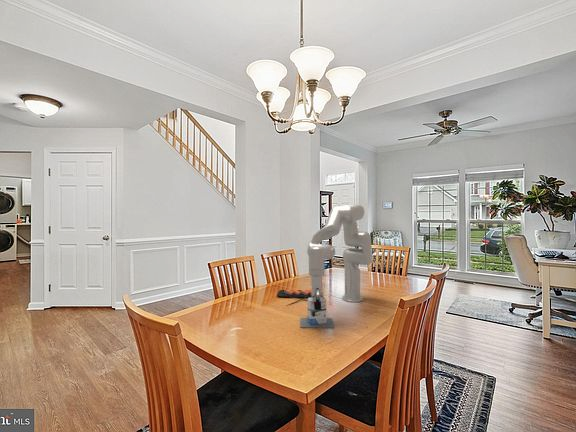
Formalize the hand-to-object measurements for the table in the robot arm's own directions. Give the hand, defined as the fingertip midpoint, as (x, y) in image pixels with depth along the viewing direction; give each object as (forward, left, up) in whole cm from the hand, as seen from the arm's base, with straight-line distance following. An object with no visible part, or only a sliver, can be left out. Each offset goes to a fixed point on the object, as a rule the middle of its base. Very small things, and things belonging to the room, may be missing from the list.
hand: (317, 306), depth 150 cm
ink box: (0, 0, -8) cm, 8 cm away
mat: (0, 0, -8) cm, 8 cm away
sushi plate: (-40, -9, -9) cm, 42 cm away
